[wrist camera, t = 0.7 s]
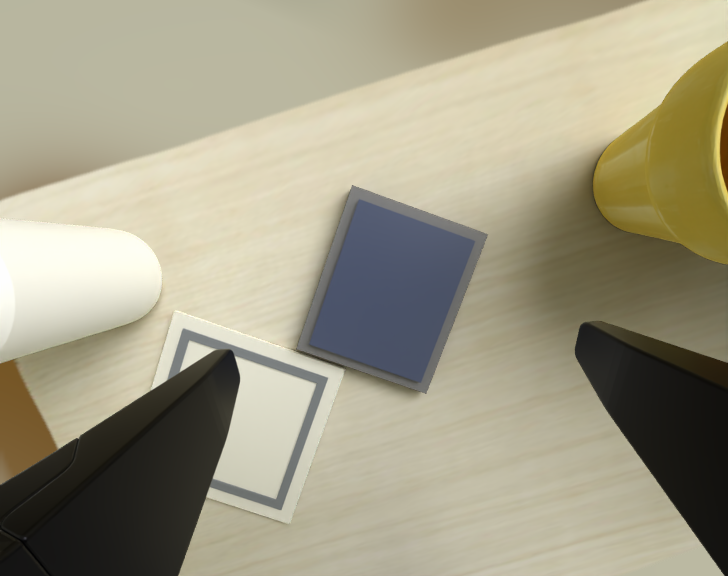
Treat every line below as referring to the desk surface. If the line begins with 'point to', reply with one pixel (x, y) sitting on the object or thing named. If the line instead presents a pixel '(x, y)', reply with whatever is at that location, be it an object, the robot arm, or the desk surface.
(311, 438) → the print card
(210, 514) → the desk surface
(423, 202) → the desk surface
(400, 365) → the ink pad
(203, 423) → the robot arm
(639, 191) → the plant pot
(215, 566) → the desk surface
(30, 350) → the beverage can
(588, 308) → the desk surface
